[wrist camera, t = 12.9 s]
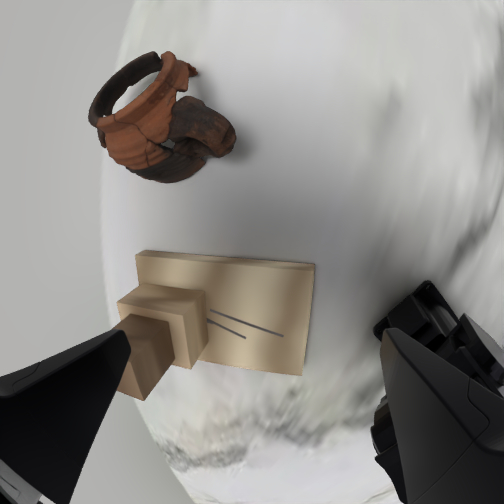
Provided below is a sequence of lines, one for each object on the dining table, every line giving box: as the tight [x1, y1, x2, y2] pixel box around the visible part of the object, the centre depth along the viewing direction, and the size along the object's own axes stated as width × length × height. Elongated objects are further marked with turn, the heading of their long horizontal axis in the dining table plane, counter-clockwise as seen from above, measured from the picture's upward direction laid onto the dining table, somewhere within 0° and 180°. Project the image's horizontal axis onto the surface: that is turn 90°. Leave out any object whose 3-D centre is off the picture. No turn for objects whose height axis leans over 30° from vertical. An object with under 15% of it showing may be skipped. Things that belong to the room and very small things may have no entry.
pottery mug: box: [88, 51, 236, 183], centre depth 17 cm, size 12×10×8 cm
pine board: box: [135, 250, 315, 376], centre depth 23 cm, size 15×10×2 cm, turn 90°
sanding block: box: [111, 283, 209, 401], centre depth 19 cm, size 6×5×9 cm
